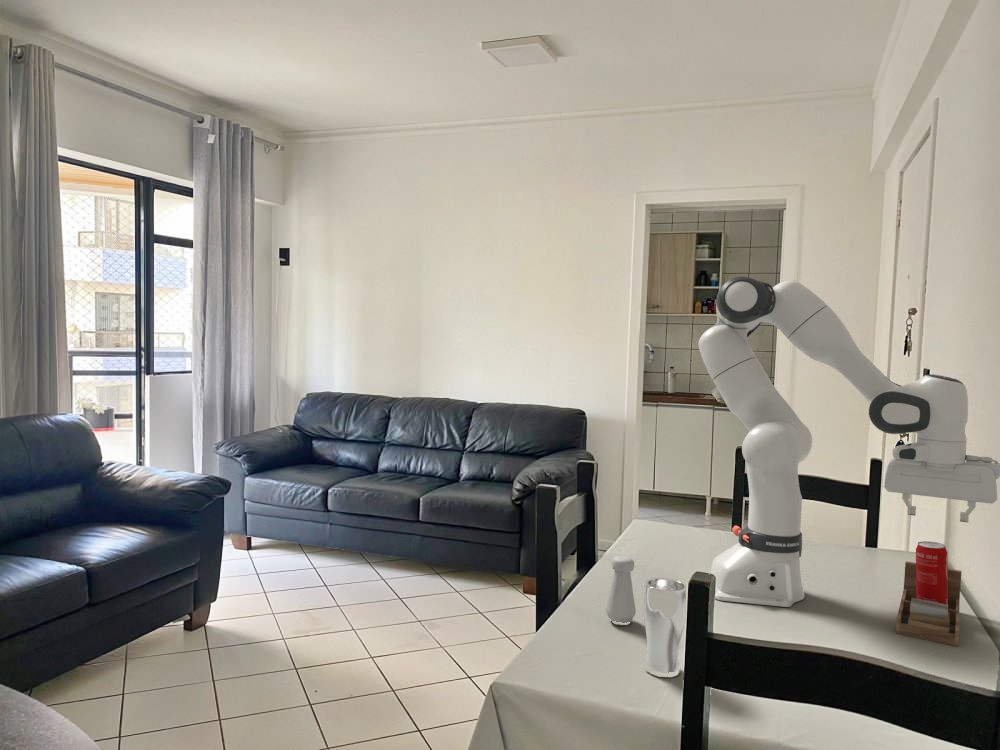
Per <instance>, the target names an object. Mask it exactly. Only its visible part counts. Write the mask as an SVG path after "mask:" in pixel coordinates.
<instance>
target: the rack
mask: <svg viewBox="0 0 1000 750" xmlns="http://www.w3.org/2000/svg"><path fill="white" fill-rule="evenodd" d="M903 580H904V581H903V590H902V595H901V598H900V603H899V608H898V611H897V615H896V616H897V617H896V626H895V633H896V634H899V635H904V636H908V637H913V638H917V639H921V640H927V641H931V642H933V643H938V644H939V643H940V644H944V645H948V646H953V647H959V642H960V641H959V640H960V639H959V638H960V604H961V603H960V600H961V598H960V596H961V585H962V570H960V569H954V568H953V569H952V568H948V613H950V617H949V621H950V625H949V626H954V633H951V632H949V633H947V632H942V631H938V630H933V629H928V628H924V627H919V626H914V625H910V624H908V623H905V622H904V623H903V622H902V621H903V617H905V616H906V617H909V615H910V604H911V599H912V598H915V599H916V562H911V561H908V560H905V565H904V579H903Z"/></svg>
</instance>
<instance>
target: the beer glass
mask: <svg viewBox="0 0 1000 750" xmlns="http://www.w3.org/2000/svg"><path fill="white" fill-rule="evenodd" d="M645 585H646V586H645V594H644V604H643V617H644V619H643V621H644V628H645V635H646V636H645V637H646V645H647V646H646V648H647V649H646V655H645V659H644V660H645V661H644V664H646V665H647V667H649V668H650V669H652V670H654V671H657V672H661V673H667V672H668V673H669V672H675V671H677V670H678V669H679V667H680V659H679V655H680V645H681V641H682V637H683V632H684V629H685V624H686V623H685V622H686V616H687V615H686V614H687V613H686V612H687V594H686V593H687V592H686V591H687V590H686V588H687V586H686V584H685V583H684V582H682V581H679V580H677V579H674V578H668V577H653V578H649V579H647V580H646V583H645ZM680 668H681V667H680Z"/></svg>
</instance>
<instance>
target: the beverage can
mask: <svg viewBox="0 0 1000 750" xmlns="http://www.w3.org/2000/svg"><path fill="white" fill-rule="evenodd" d="M948 557H949V556H948V550H947V548H946V545H945V544H944V543H942V542H941V543H940V542H936V541H926V540H925V541H918V542H917V546H916V547H915V563H916V599H920V600H926V601H931V602H936V603H941V604H946V605H948V569H949V567H948Z"/></svg>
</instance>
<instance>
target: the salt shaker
mask: <svg viewBox="0 0 1000 750" xmlns="http://www.w3.org/2000/svg"><path fill="white" fill-rule="evenodd" d="M611 567H612V569H613V577H612V581H611V584H610V589H609V593H608V597H607V601H606V605H605V612H606V615H607V617H608V619H609V618H610V619H611V620H612V621H616V622H622V623H625V622H626V623H627V622H631V621H633V619H634V617H635V615H636V614H637V613H636V604H635V603H636V602H635V596H634V590H633V583H632V575H631V572H633V571H634V569H635V561H634V560H633V558H632V557H630V556H626V555H625V556H624V555H617V556H615V557H613V559H612V561H611ZM631 623H632V622H631Z"/></svg>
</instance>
